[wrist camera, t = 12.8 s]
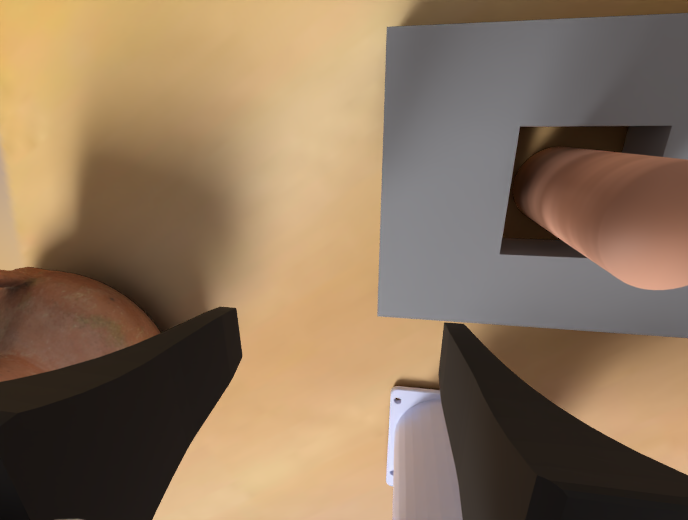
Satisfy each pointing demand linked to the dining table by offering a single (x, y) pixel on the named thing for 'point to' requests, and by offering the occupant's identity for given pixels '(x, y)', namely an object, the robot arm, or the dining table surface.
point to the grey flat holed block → (498, 161)
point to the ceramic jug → (62, 321)
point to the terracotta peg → (613, 210)
